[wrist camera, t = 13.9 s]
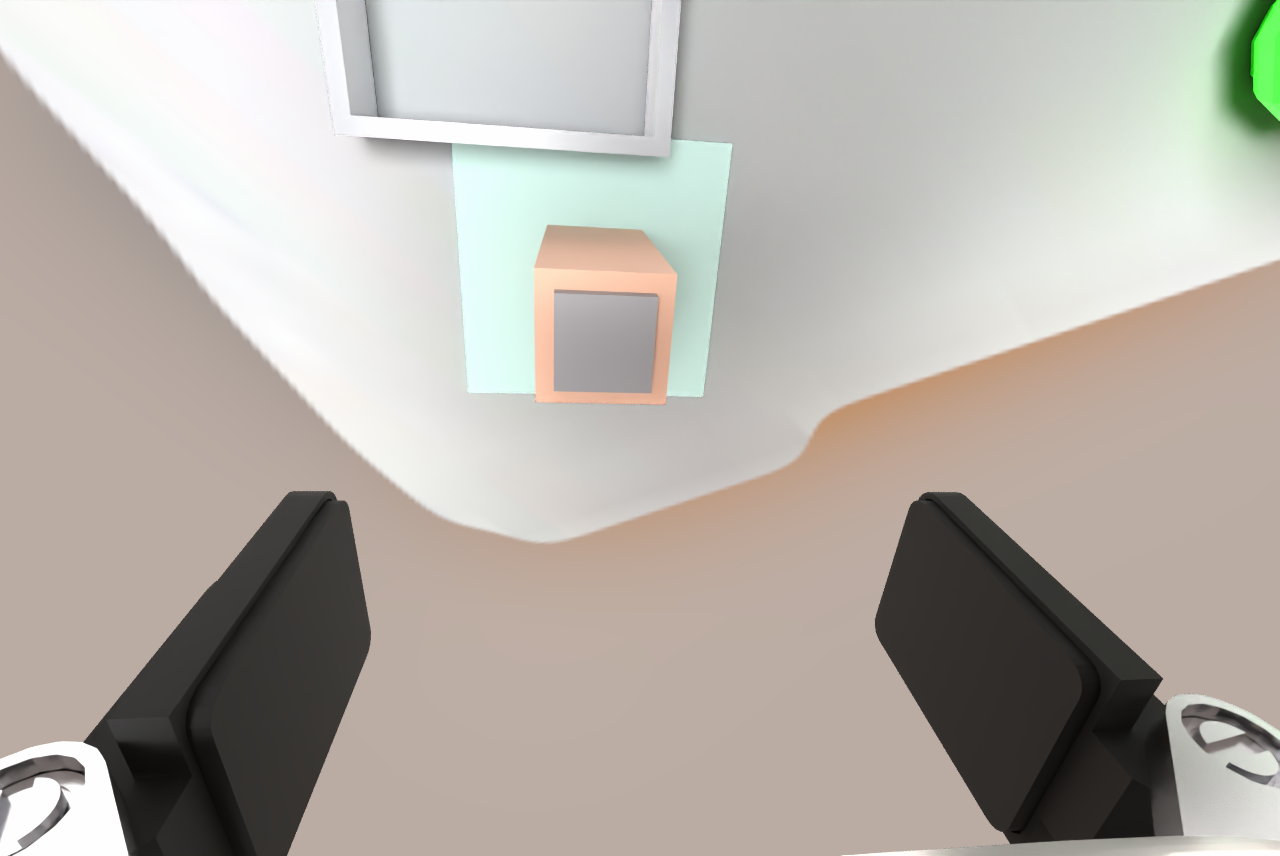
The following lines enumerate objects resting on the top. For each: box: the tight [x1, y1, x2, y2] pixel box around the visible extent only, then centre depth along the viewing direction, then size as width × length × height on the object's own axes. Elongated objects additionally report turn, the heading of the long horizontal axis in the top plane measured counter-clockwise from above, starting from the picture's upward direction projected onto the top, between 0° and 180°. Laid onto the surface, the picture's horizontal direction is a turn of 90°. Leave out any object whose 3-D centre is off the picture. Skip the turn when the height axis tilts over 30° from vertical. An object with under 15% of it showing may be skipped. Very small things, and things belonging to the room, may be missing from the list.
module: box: [534, 225, 677, 405], centre depth 27 cm, size 5×5×13 cm
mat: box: [452, 139, 732, 397], centre depth 33 cm, size 14×14×1 cm
